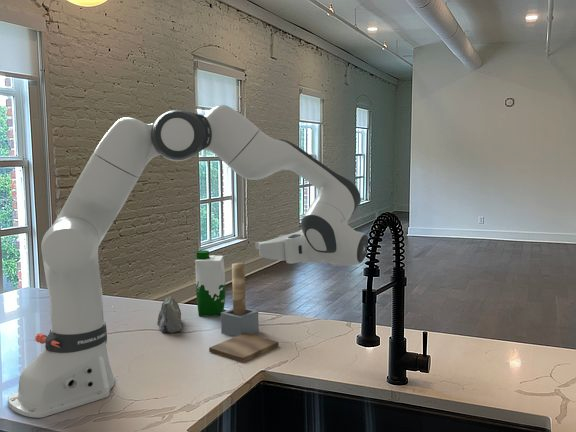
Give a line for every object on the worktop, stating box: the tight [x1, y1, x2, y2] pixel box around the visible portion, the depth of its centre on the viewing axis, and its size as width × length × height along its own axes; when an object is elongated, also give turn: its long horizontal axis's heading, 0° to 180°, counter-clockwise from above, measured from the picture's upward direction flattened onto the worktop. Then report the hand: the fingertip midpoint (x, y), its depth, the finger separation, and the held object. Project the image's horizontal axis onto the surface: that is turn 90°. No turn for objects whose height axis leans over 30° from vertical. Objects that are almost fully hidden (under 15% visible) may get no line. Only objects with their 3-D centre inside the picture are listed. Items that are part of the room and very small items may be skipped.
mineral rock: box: [156, 294, 183, 334], centre depth 170 cm, size 13×11×10 cm
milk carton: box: [194, 249, 226, 317], centre depth 182 cm, size 9×9×20 cm
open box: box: [220, 307, 260, 338], centre depth 165 cm, size 8×8×6 cm
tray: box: [208, 333, 279, 363], centre depth 152 cm, size 14×12×1 cm
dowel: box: [231, 262, 247, 316], centre depth 164 cm, size 4×4×20 cm
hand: (267, 241), depth 154 cm, fingers open, 8 cm apart
